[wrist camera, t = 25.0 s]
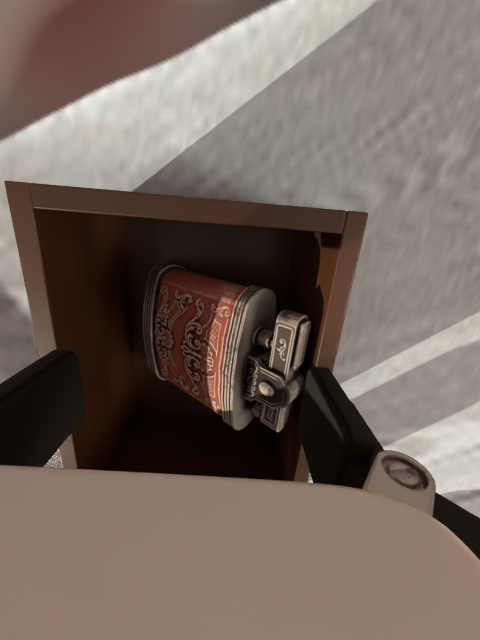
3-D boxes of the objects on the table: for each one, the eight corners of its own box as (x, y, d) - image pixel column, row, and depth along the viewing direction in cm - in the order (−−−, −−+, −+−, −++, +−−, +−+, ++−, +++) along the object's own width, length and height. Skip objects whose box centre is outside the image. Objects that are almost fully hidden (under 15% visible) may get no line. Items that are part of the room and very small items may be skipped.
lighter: (183, 365, 20) (299, 433, 15) (144, 382, 18) (267, 472, 12) (186, 261, 18) (330, 296, 12) (140, 263, 15) (298, 310, 9)
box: (116, 202, 17) (3, 180, 9) (306, 219, 18) (369, 212, 9) (131, 411, 23) (71, 518, 14) (275, 418, 23) (297, 525, 15)
